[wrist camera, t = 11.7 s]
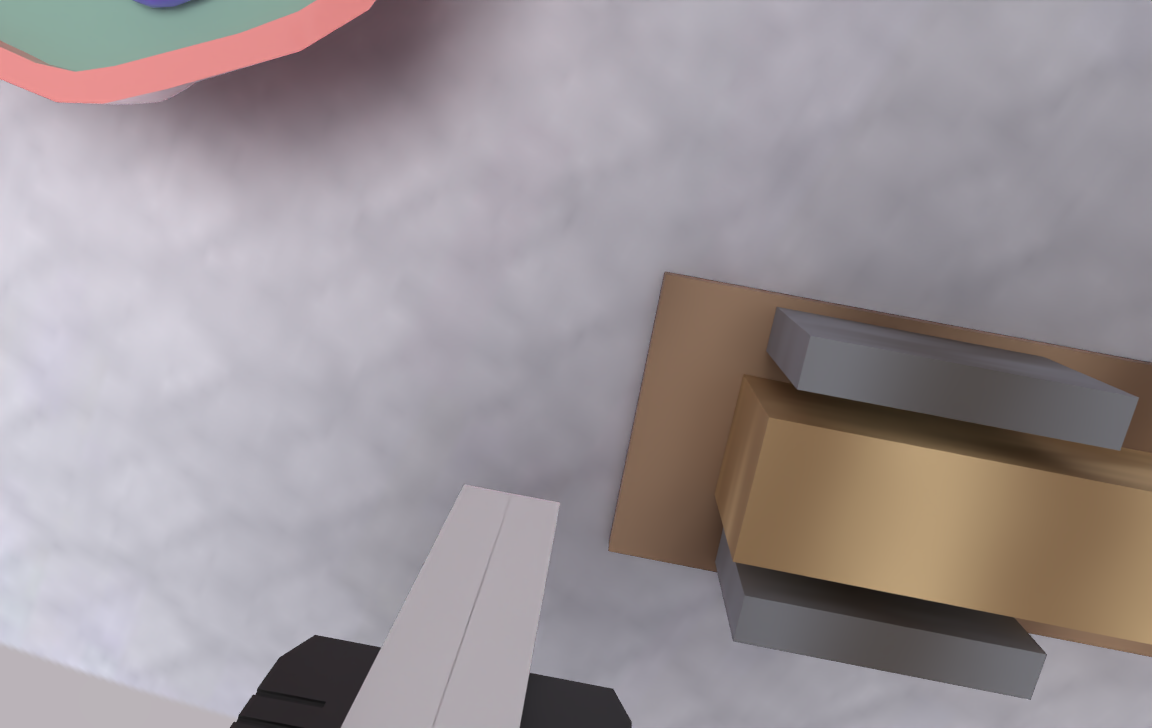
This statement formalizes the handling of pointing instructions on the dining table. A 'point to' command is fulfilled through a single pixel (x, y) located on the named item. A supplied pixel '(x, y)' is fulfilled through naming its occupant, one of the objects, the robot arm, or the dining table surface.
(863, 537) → the brass rectangular bar
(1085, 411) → the cap board
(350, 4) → the cell model
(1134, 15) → the dining table surface
